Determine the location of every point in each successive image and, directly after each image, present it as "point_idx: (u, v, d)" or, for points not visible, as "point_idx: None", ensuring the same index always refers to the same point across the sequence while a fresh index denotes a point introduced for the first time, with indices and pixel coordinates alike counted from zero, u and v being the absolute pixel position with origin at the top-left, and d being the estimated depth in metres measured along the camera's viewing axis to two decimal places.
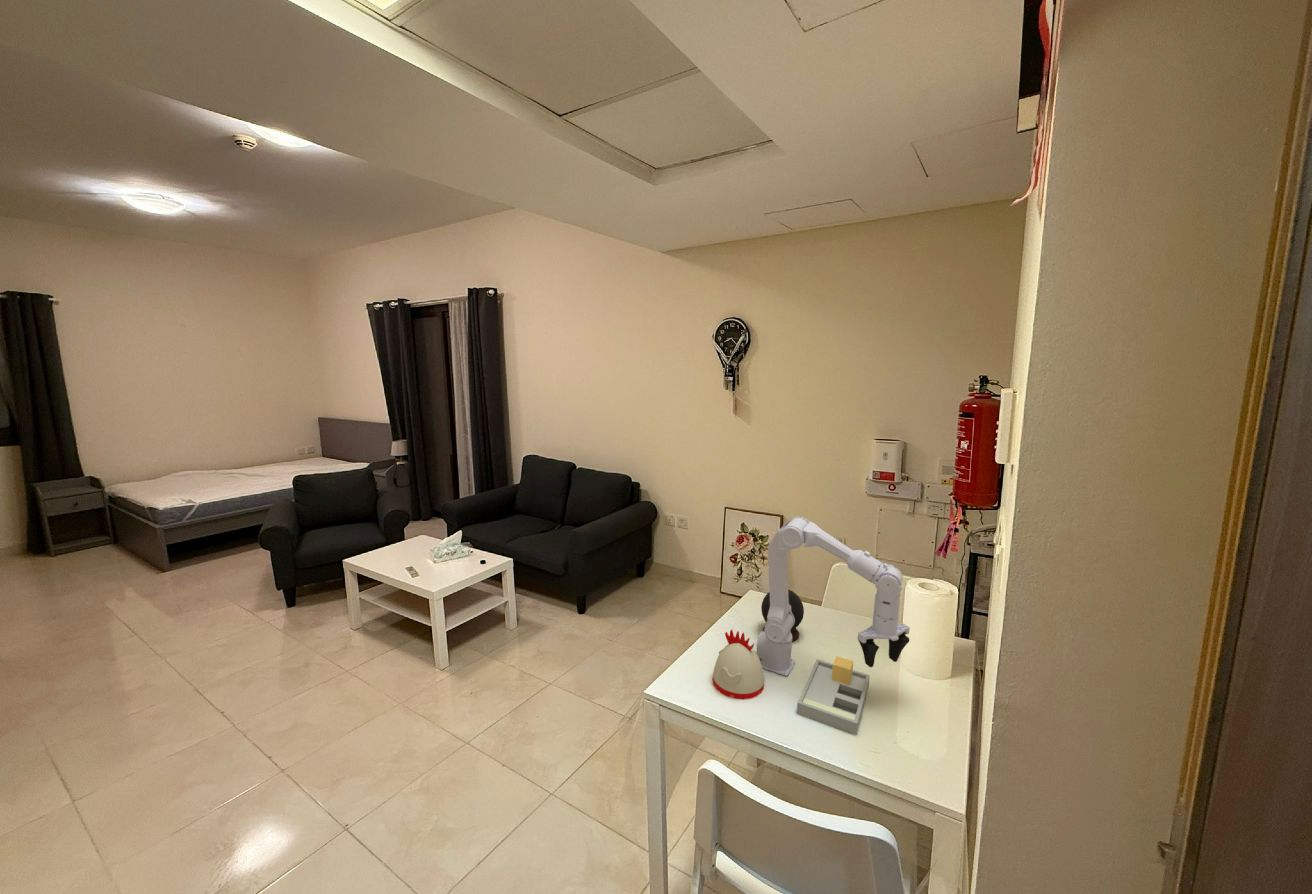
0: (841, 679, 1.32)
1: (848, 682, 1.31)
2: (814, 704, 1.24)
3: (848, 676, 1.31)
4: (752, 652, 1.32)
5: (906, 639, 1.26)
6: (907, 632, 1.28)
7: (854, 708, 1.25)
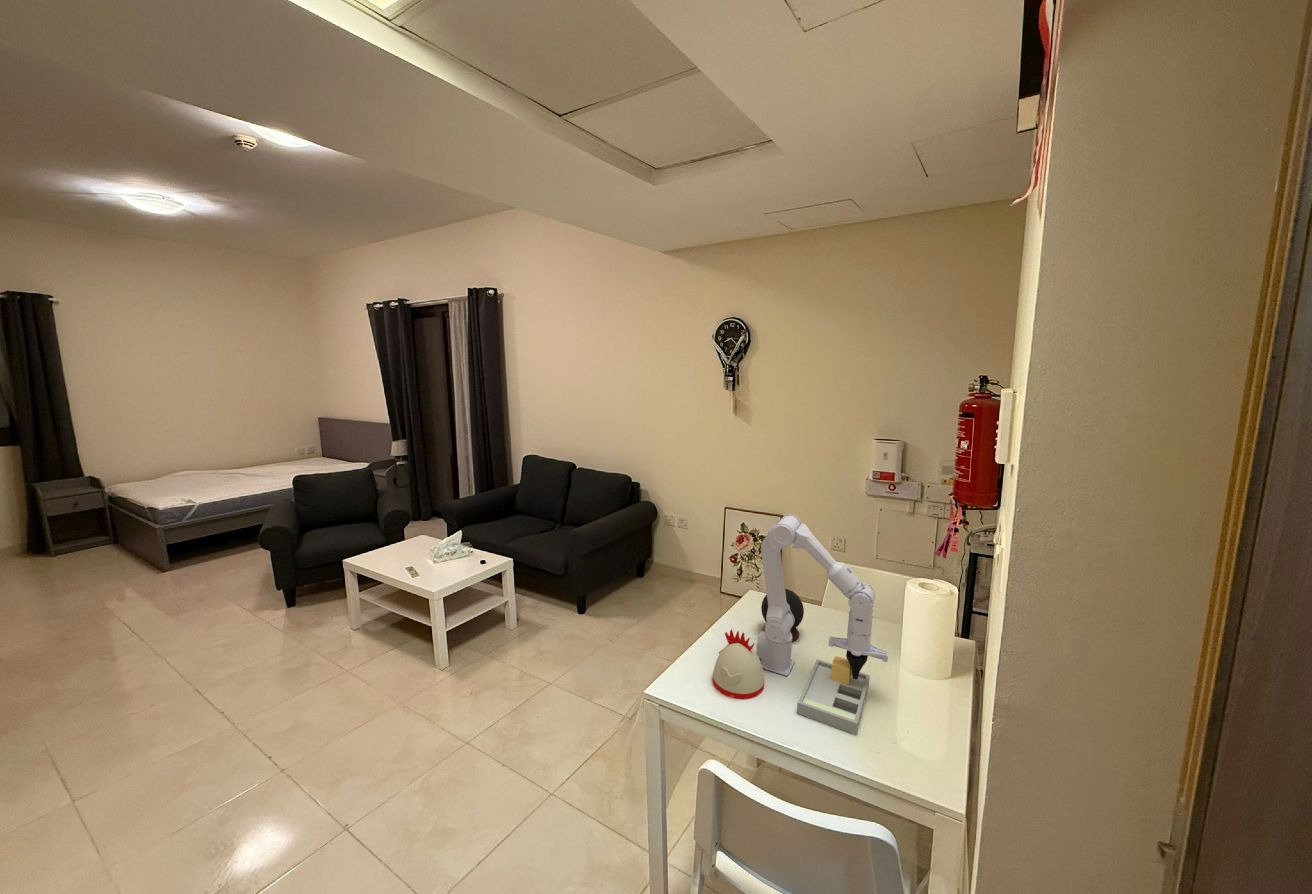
0: (841, 678, 1.32)
1: (847, 681, 1.31)
2: (814, 704, 1.24)
3: (847, 675, 1.31)
4: (752, 652, 1.32)
5: (861, 659, 1.28)
6: (884, 659, 1.27)
7: (854, 708, 1.25)
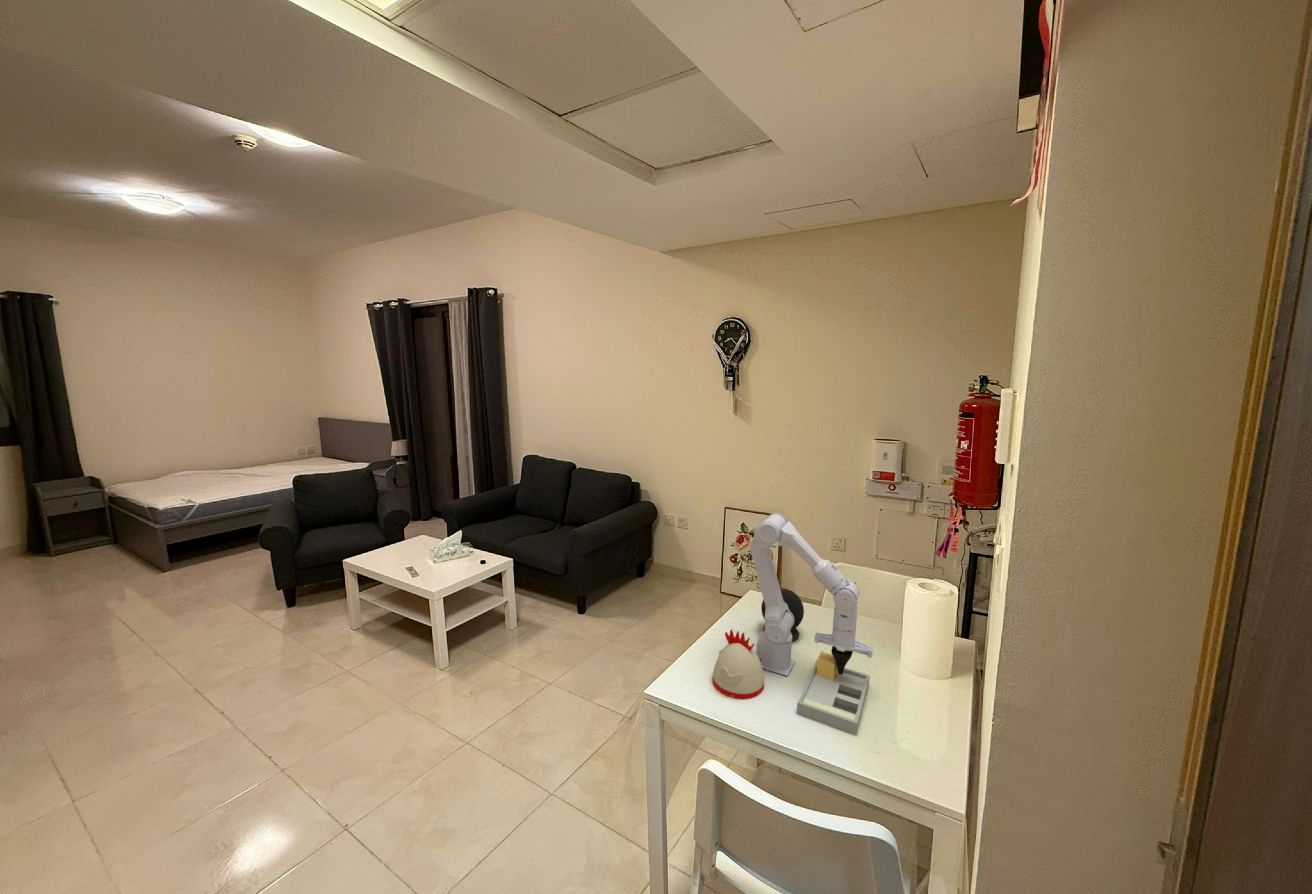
0: (826, 674, 1.34)
1: (832, 677, 1.33)
2: (814, 704, 1.24)
3: (832, 671, 1.33)
4: (752, 652, 1.32)
5: (846, 654, 1.30)
6: (869, 655, 1.29)
7: (854, 708, 1.25)
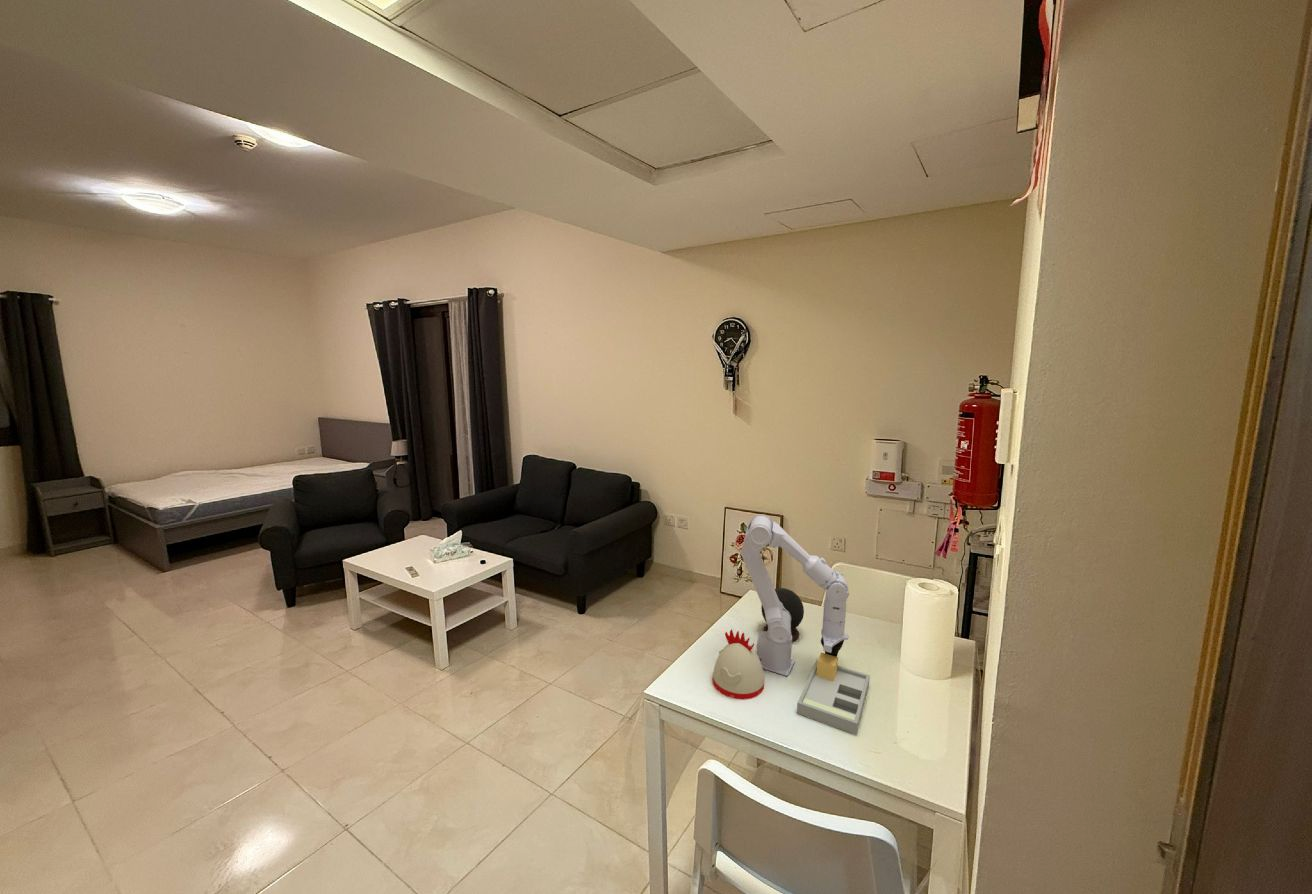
0: (826, 675, 1.34)
1: (832, 678, 1.33)
2: (814, 704, 1.24)
3: (832, 672, 1.33)
4: (752, 652, 1.32)
5: (842, 639, 1.37)
6: None
7: (854, 708, 1.25)
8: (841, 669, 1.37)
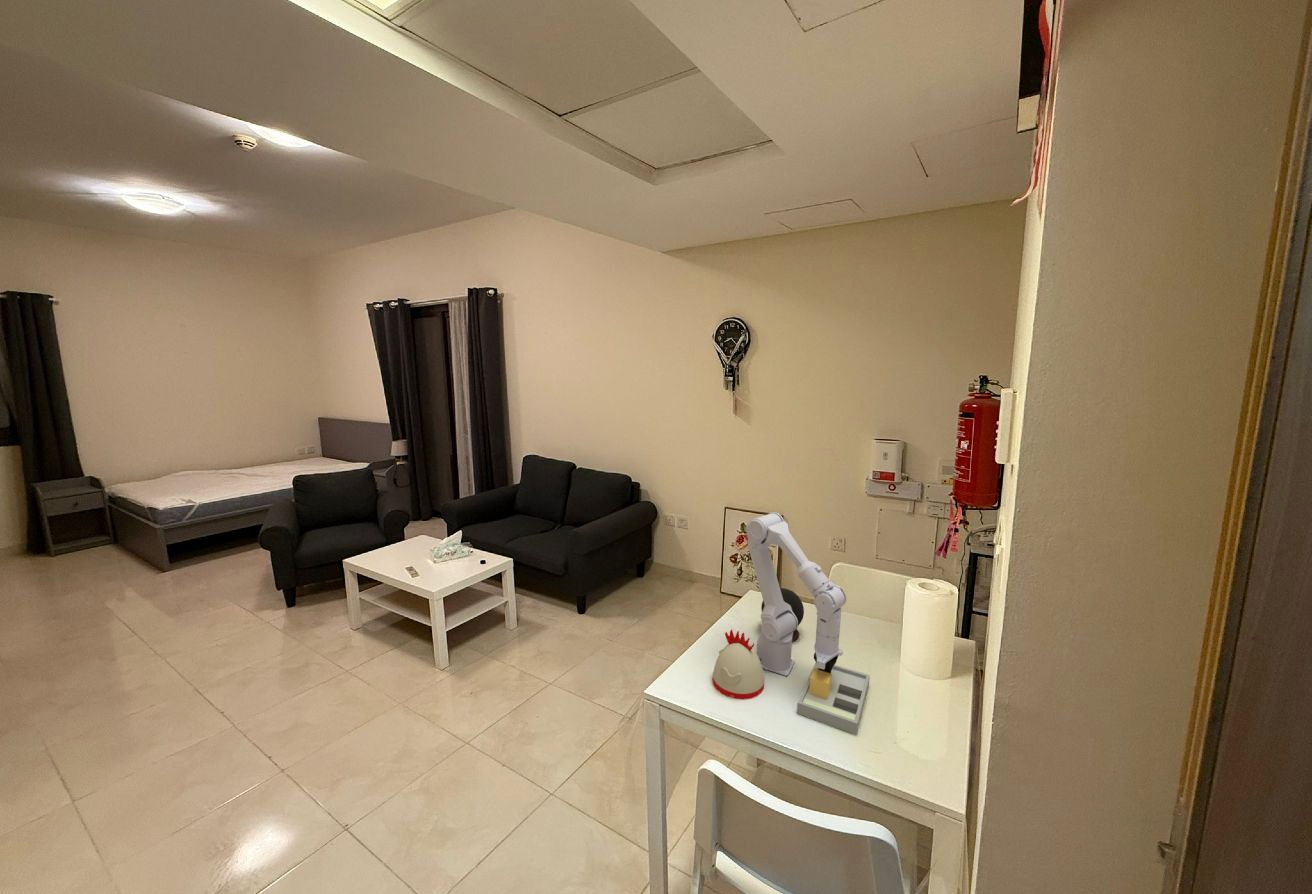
0: (819, 693, 1.27)
1: (826, 696, 1.26)
2: (814, 704, 1.24)
3: (826, 690, 1.26)
4: (752, 652, 1.32)
5: (837, 654, 1.30)
6: None
7: (854, 708, 1.25)
8: (841, 669, 1.37)
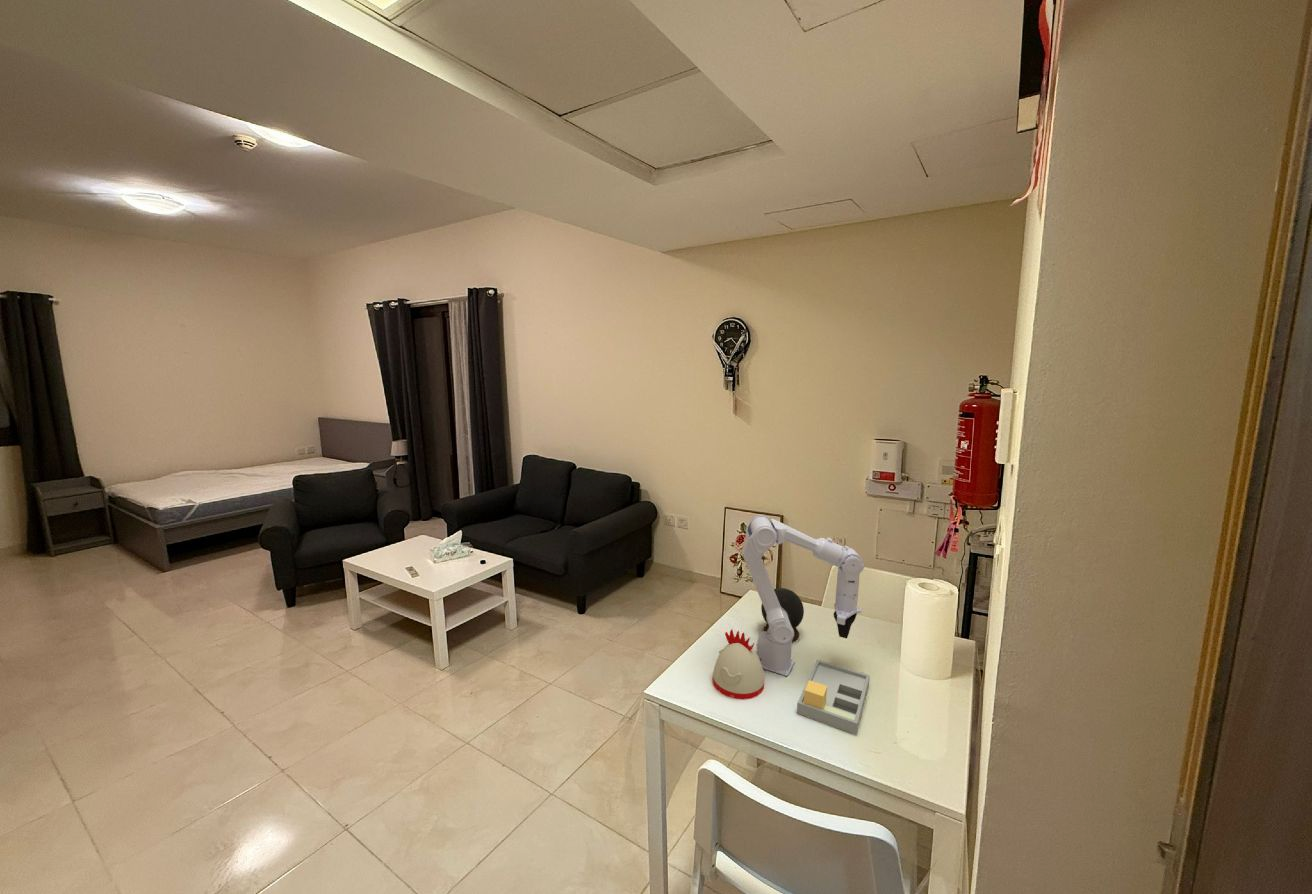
0: None
1: None
2: None
3: (821, 703, 1.21)
4: (752, 652, 1.32)
5: (855, 613, 1.39)
6: None
7: (854, 708, 1.25)
8: (841, 669, 1.37)
